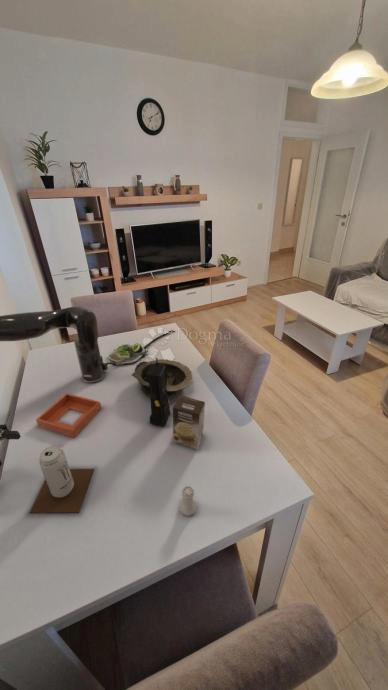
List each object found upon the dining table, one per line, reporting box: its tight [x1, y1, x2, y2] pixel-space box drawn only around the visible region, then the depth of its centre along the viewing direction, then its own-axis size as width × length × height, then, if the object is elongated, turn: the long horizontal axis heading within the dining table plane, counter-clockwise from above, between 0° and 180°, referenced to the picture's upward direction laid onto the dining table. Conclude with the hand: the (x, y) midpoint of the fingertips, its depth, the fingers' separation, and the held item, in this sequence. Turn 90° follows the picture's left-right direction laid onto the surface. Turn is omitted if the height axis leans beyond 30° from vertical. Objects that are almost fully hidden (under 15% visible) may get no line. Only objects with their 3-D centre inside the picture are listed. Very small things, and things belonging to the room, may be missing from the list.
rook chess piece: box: [179, 485, 197, 517], centre depth 72 cm, size 4×4×8 cm
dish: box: [35, 392, 102, 439], centre depth 102 cm, size 16×16×3 cm
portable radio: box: [146, 357, 171, 427], centre depth 96 cm, size 8×6×25 cm
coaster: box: [28, 468, 95, 514], centre depth 78 cm, size 13×13×1 cm
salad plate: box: [107, 342, 149, 366], centre depth 139 cm, size 19×18×5 cm
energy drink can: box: [38, 445, 74, 498], centre depth 75 cm, size 6×6×15 cm
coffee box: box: [172, 394, 206, 451], centre depth 91 cm, size 9×6×16 cm
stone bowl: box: [131, 358, 194, 399], centre depth 118 cm, size 25×25×9 cm
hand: (10, 448), depth 71 cm, fingers open, 8 cm apart
